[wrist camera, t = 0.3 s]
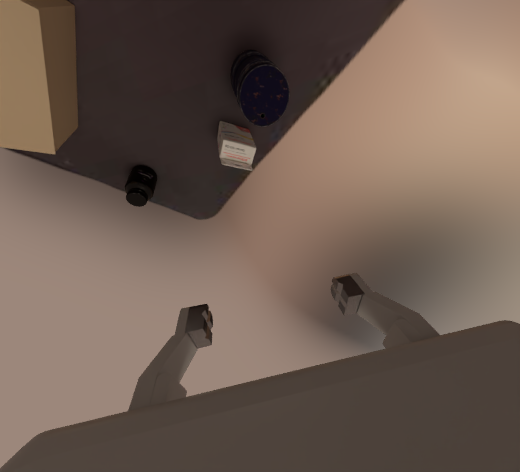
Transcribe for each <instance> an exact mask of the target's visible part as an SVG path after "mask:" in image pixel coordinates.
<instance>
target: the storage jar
mask: <svg viewBox="0 0 520 472" xmlns="http://www.w3.org/2000/svg"><path fill="white" fill-rule="evenodd" d="M231 84H232V88H233V91H234V93H235V96H236V97H237V101H238V104H239V106H240V108H241V110H242V112H243V114H244V116H245V117H246V119H247V120H248V121H249V122H251V123H252V124H254V125H256V126H261V127H262V126H269V125H271V124H273V123H275V122H276V121H278V120H279V119H280V118H281V116H282V115H283V114H284V112H285V110H286V108H287V105H288V101H289V86H288V82H287V80H286V77H285V76H284V74H283V73H282V72H281V71H280V69H279V68H278V67H277V66H276V65H275V64H274V63H272V62H271V61H269V59H268V58H267V57H265V56H264V55H263V54H261V53H259V52H257V51H255V50H246V51H244V52H242V53H241V54H239V55H238V56H237V58H236V59H235V61H234V63H233V65H232V69H231Z"/></svg>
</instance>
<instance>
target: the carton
mask: <svg viewBox="0 0 520 472" xmlns="http://www.w3.org/2000/svg"><path fill="white" fill-rule="evenodd" d="M23 1H25V2H27V3H29V4H31V5H33V6H35V7H37V8H38V9H39V17H40V26H41V35H42V43H43V52H44V61H45V69H46V78H47V87H48V95H49V104H50V113H51V121H52V130H53V139H54V147H55V152H56V151H57V149H58V148H59V147H60V146H61V145H62V144H63V143H64V142H65V141H66V140H67V139H68V137H69V136H70V135H71V134H72V133H73V132H74V131H75V130H76V129H77V128H78V106H77V71H76V35H75V6H74V5H73V4H71V3H70V2H68V1H67V0H23Z"/></svg>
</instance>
